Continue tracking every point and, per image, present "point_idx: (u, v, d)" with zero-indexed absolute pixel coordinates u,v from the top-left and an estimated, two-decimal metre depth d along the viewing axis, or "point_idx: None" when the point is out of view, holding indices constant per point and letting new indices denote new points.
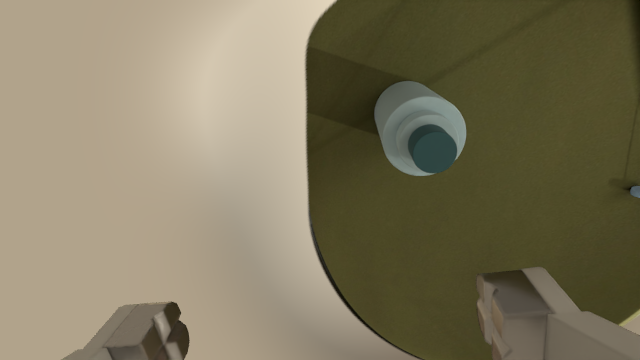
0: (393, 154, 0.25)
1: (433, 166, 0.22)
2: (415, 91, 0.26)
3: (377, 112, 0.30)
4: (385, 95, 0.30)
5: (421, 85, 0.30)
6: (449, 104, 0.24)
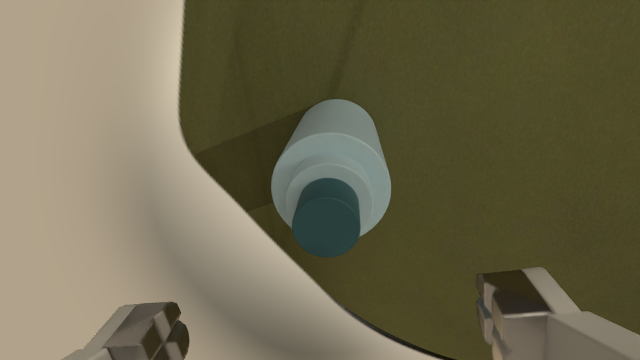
0: None
1: (339, 243, 0.14)
2: (291, 138, 0.18)
3: None
4: None
5: (316, 109, 0.22)
6: (322, 135, 0.16)
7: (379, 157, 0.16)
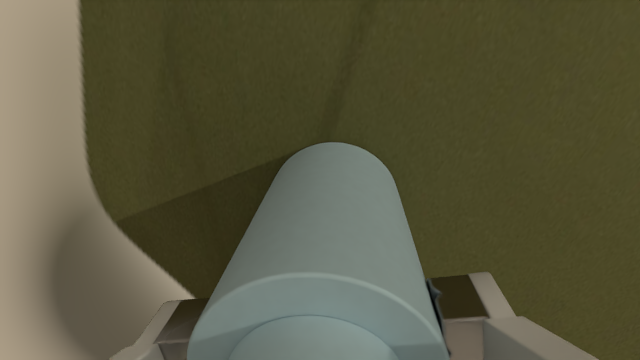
0: None
1: None
2: (241, 245, 0.09)
3: None
4: None
5: (298, 166, 0.13)
6: (293, 280, 0.07)
7: (430, 327, 0.07)
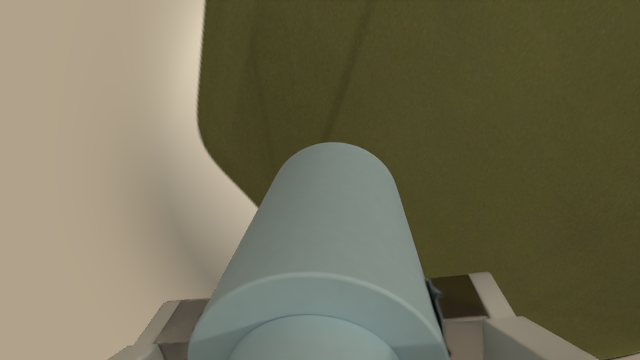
0: None
1: None
2: (241, 244, 0.09)
3: None
4: None
5: (298, 166, 0.13)
6: (294, 279, 0.07)
7: (430, 326, 0.07)
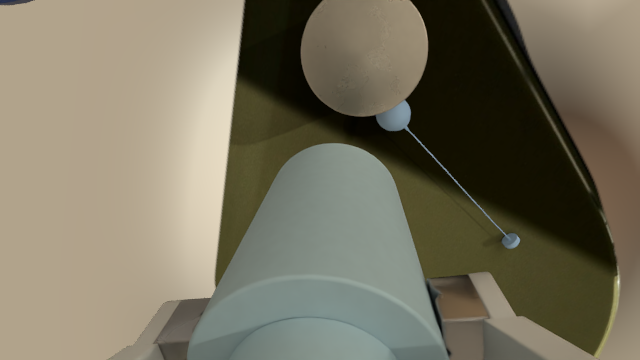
0: None
1: None
2: (241, 246, 0.09)
3: None
4: None
5: (298, 167, 0.13)
6: (293, 282, 0.07)
7: (430, 329, 0.07)
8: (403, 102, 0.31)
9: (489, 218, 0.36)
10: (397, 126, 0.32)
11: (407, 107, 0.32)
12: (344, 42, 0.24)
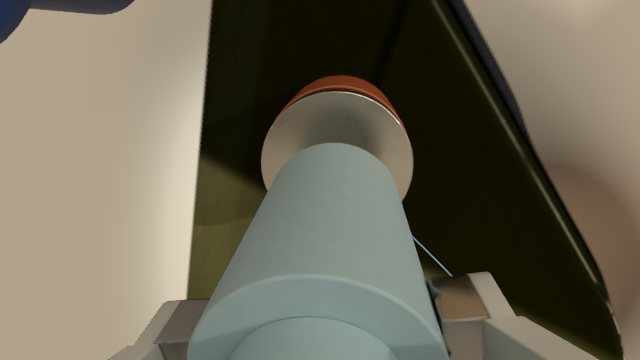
0: None
1: None
2: (241, 246, 0.09)
3: None
4: None
5: (298, 167, 0.13)
6: (293, 281, 0.07)
7: (430, 329, 0.07)
8: None
9: None
10: None
11: None
12: None
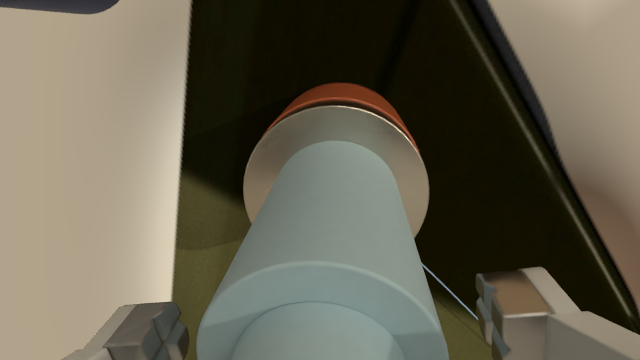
0: None
1: None
2: (247, 237, 0.10)
3: None
4: None
5: (301, 163, 0.13)
6: (298, 268, 0.07)
7: (427, 313, 0.07)
8: None
9: None
10: None
11: None
12: None
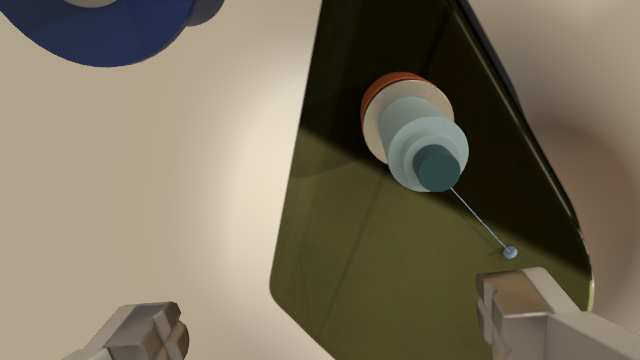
0: (414, 184, 0.26)
1: (446, 182, 0.22)
2: (395, 122, 0.27)
3: None
4: (380, 131, 0.32)
5: (401, 103, 0.31)
6: (426, 118, 0.25)
7: (462, 132, 0.25)
8: None
9: None
10: None
11: None
12: None
